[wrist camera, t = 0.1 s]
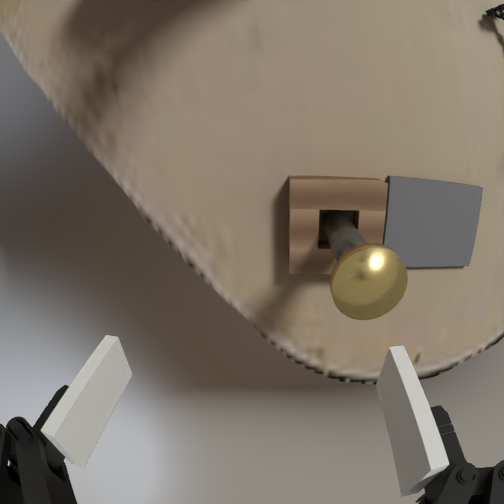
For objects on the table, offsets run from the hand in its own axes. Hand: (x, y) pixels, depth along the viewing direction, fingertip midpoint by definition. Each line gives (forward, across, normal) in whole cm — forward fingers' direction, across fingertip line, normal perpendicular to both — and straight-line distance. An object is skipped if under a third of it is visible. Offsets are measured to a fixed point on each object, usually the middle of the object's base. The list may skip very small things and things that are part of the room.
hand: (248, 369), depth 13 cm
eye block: (+28, +8, -1) cm, 29 cm away
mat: (+28, +24, -1) cm, 37 cm away
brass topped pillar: (+27, +8, -1) cm, 28 cm away
